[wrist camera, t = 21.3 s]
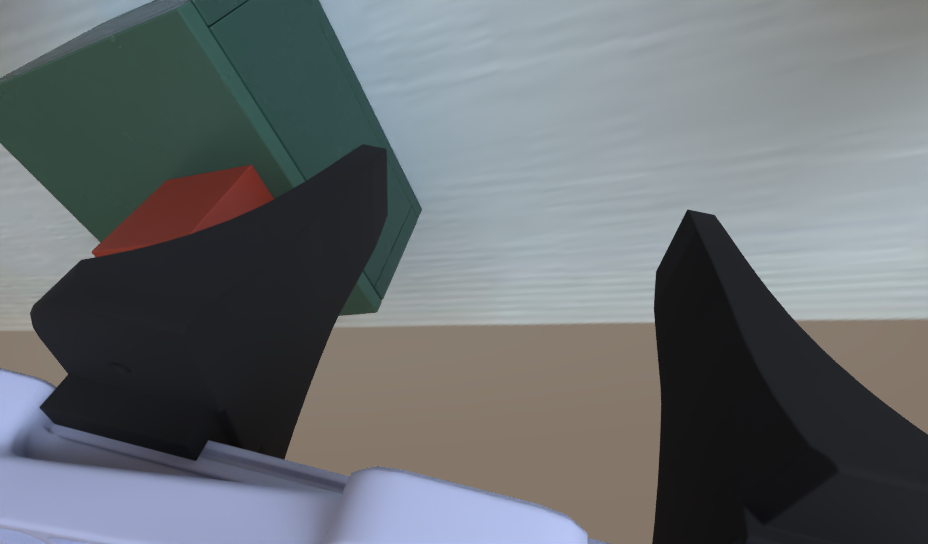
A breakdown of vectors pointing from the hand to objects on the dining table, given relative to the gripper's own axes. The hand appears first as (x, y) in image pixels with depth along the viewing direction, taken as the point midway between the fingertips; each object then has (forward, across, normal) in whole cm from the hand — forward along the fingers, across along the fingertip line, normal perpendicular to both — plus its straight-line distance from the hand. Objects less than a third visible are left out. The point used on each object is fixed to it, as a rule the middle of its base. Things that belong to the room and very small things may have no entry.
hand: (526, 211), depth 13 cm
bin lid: (+4, +13, +6) cm, 15 cm away
